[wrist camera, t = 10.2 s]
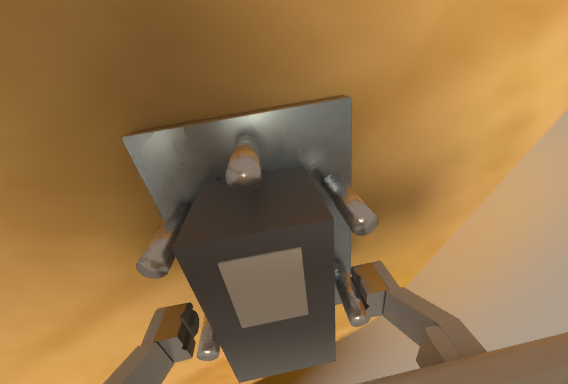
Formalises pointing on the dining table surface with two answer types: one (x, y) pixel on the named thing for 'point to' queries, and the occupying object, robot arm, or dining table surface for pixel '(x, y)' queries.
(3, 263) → the dining table surface
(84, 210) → the dining table surface
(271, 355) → the drive
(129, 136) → the pin board module
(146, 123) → the dining table surface
